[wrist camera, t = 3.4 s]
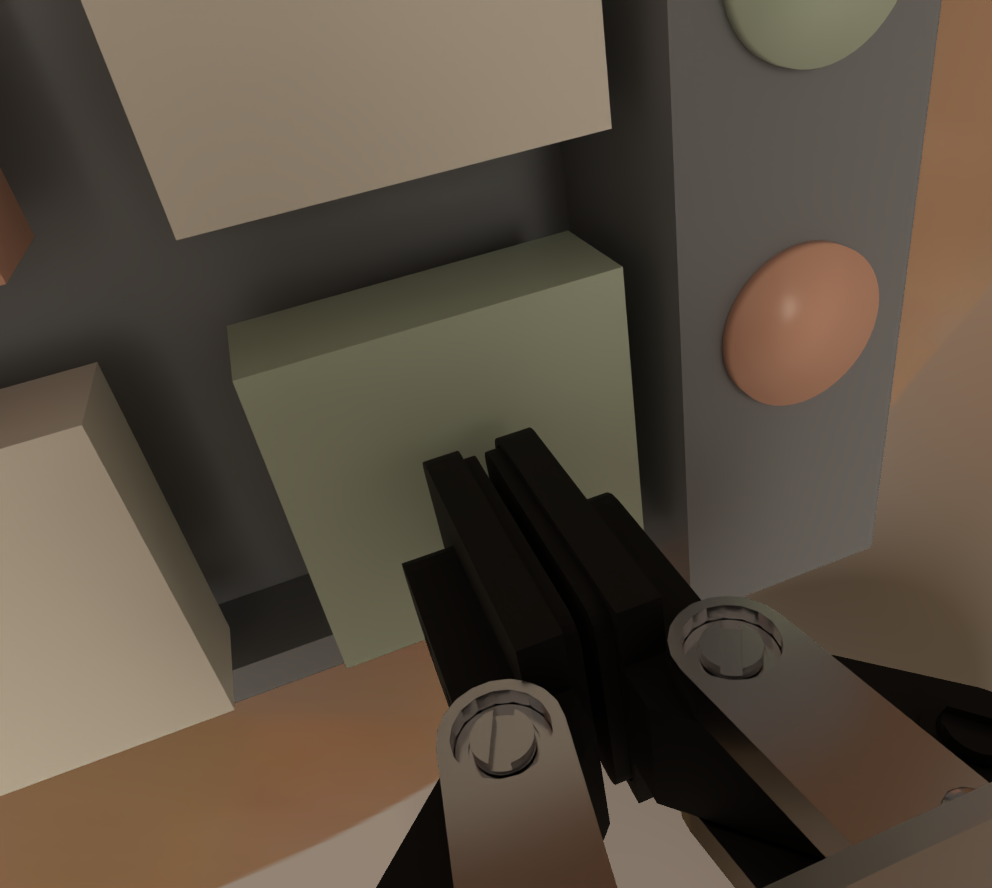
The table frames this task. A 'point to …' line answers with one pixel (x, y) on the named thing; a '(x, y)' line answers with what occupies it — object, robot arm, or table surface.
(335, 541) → the key sage
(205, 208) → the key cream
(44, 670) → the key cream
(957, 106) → the table surface
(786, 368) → the keypad
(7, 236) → the key terracotta
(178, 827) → the table surface
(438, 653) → the robot arm
